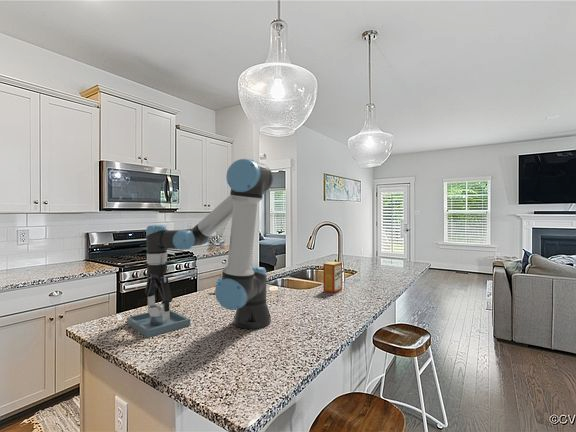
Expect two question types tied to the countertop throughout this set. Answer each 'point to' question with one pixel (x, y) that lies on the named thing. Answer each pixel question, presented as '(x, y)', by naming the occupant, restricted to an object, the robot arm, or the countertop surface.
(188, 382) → the countertop surface
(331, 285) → the baking soda box
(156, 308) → the knob
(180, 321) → the parts tray
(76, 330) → the countertop surface
